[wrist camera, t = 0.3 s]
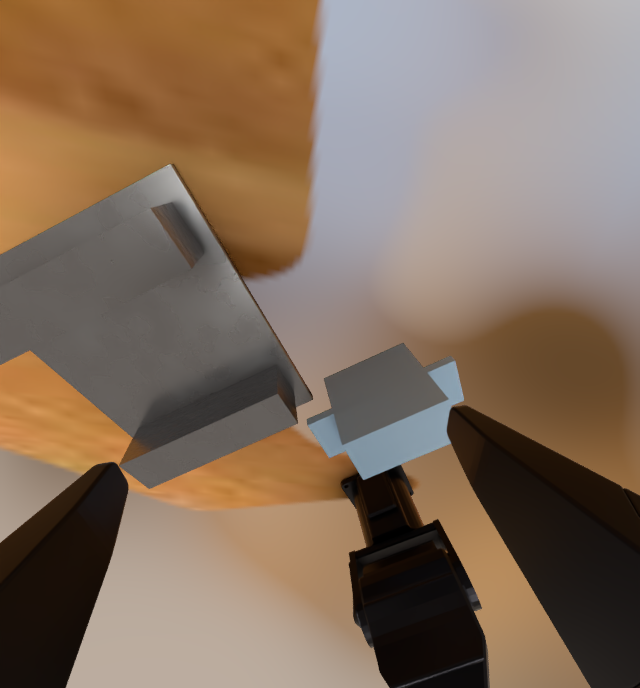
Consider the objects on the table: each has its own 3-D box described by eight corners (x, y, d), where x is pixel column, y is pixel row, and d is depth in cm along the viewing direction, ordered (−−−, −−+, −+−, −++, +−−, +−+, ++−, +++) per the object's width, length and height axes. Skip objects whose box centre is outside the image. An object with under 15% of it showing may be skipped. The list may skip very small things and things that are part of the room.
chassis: (312, 394, 25) (319, 431, 21) (167, 459, 26) (151, 504, 22) (173, 164, 16) (146, 160, 12) (-41, 278, 17) (-122, 305, 13)
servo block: (426, 332, 24) (480, 385, 18) (436, 368, 26) (488, 427, 20) (301, 388, 24) (312, 458, 18) (321, 419, 27) (336, 491, 20)
